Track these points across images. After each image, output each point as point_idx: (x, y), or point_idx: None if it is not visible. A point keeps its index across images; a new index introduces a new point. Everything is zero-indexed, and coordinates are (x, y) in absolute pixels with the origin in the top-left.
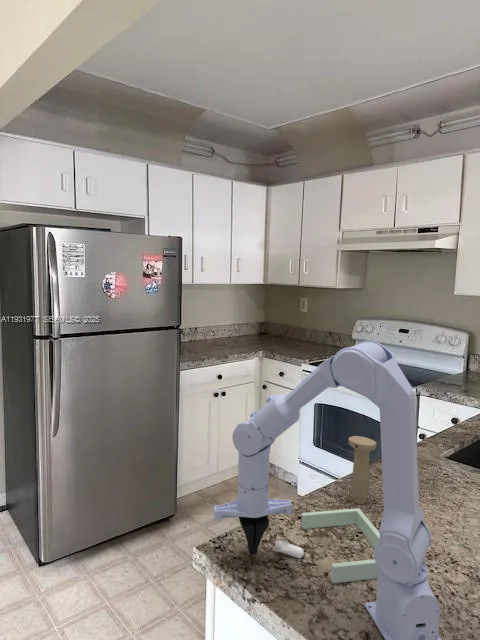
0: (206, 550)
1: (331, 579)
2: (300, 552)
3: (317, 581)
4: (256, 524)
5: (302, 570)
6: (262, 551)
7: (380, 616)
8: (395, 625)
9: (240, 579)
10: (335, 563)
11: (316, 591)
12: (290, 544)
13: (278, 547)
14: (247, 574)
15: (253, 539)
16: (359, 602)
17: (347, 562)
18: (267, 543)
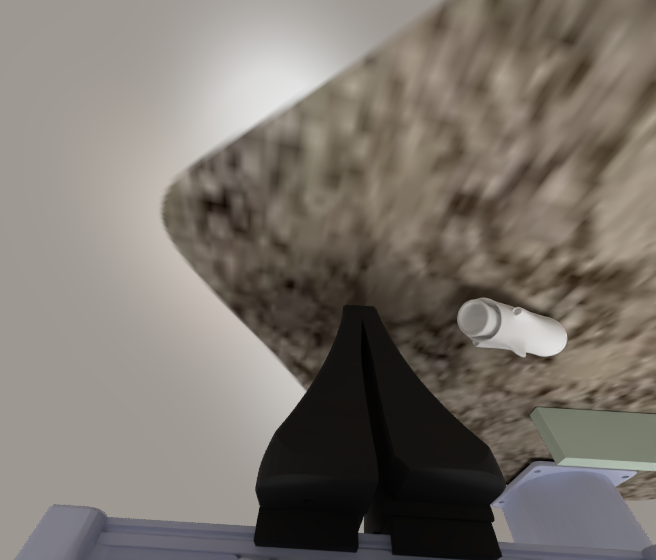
0: (163, 218)
1: (536, 413)
2: (540, 355)
3: (497, 404)
4: (366, 530)
5: (490, 372)
6: (413, 273)
7: (524, 505)
8: (520, 537)
9: (293, 366)
10: (578, 458)
11: (469, 422)
12: (533, 340)
13: (471, 338)
14: (318, 356)
15: (363, 373)
16: (533, 450)
17: (617, 462)
18: (465, 226)
